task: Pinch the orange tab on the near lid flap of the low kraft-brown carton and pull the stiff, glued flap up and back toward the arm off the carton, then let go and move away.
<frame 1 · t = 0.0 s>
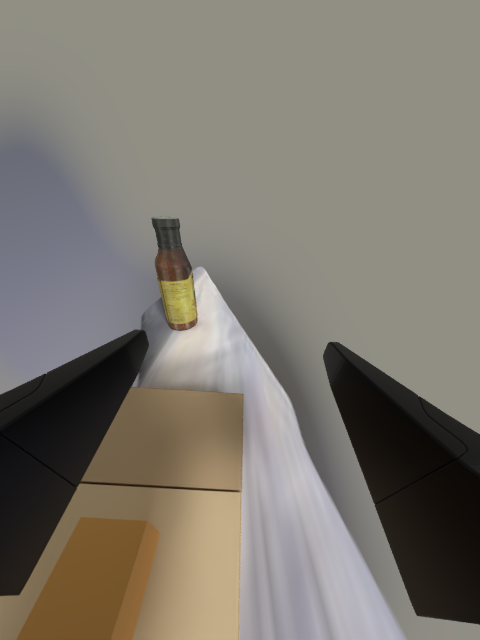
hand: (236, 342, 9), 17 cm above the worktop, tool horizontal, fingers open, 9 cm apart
pull flap: (112, 579, 8), point 8 cm above the worktop, slide at 0.0 cm
carton: (169, 505, 15), on the worktop
sauce bottle: (182, 323, 38), on the worktop
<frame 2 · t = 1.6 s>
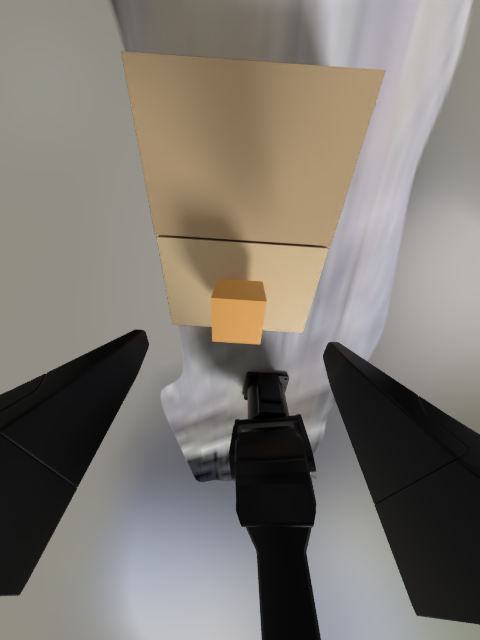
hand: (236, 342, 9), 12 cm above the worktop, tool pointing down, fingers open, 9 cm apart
pull flap: (238, 302, 12), point 8 cm above the worktop, slide at 0.0 cm
carton: (243, 230, 17), on the worktop
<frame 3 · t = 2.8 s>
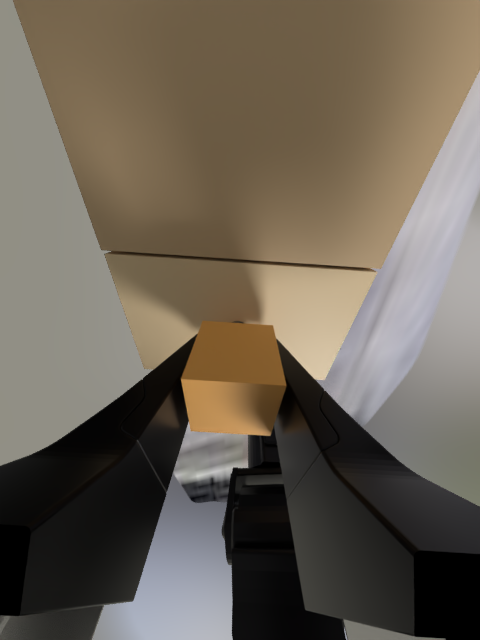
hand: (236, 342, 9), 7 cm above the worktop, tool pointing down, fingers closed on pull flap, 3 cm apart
pull flap: (235, 356, 8), point 8 cm above the worktop, slide at 0.0 cm, touching gripper
carton: (243, 238, 12), on the worktop
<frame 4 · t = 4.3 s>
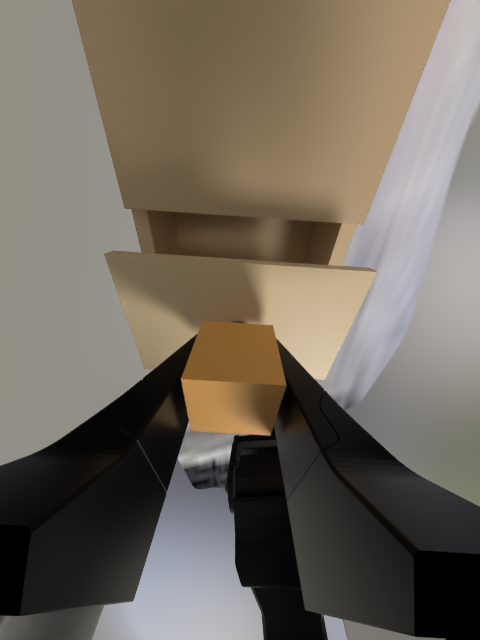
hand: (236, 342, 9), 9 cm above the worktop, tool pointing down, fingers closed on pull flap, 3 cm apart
pull flap: (235, 355, 8), point 10 cm above the worktop, slide at 2.9 cm, touching gripper
carton: (245, 212, 14), on the worktop
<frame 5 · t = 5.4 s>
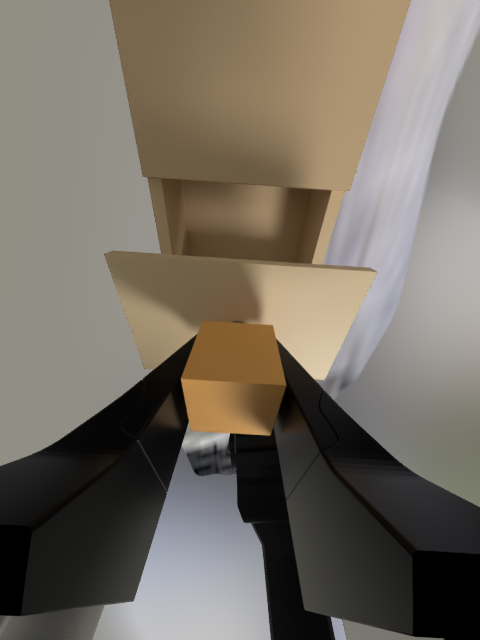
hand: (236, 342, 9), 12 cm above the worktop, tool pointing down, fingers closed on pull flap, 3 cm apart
pull flap: (235, 355, 8), point 13 cm above the worktop, slide at 5.9 cm, touching gripper
carton: (246, 189, 15), on the worktop
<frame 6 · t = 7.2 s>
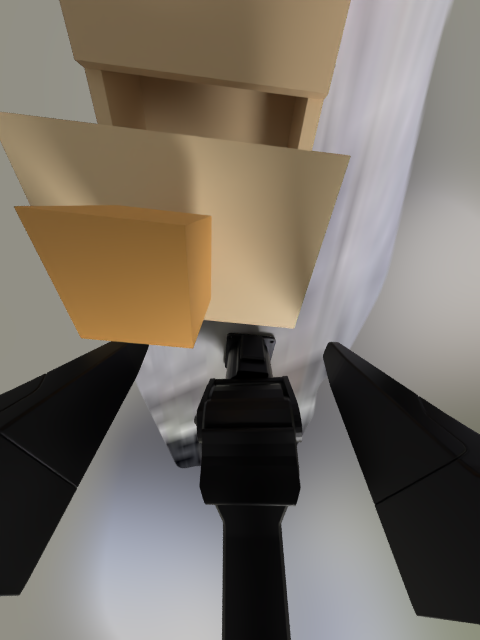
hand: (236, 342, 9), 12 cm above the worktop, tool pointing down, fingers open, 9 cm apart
pull flap: (165, 261, 6), point 13 cm above the worktop, slide at 5.9 cm
carton: (219, 122, 13), on the worktop
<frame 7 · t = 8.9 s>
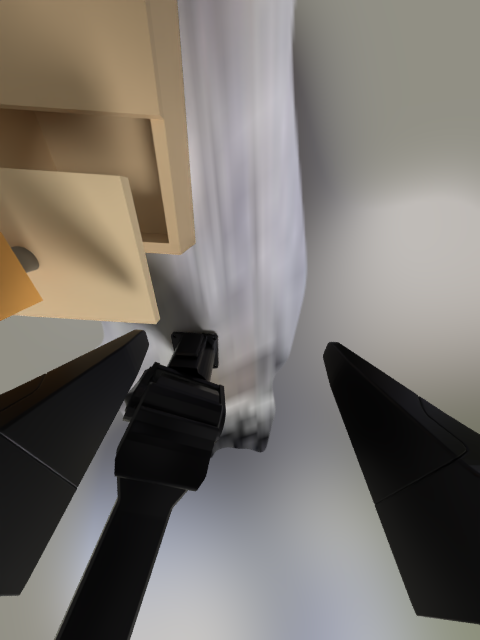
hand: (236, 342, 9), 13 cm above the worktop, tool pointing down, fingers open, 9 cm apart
carton: (113, 138, 14), on the worktop
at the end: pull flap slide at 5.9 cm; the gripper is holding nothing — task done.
